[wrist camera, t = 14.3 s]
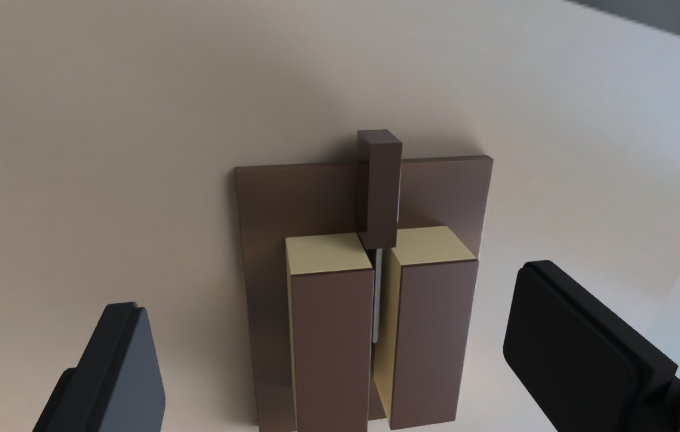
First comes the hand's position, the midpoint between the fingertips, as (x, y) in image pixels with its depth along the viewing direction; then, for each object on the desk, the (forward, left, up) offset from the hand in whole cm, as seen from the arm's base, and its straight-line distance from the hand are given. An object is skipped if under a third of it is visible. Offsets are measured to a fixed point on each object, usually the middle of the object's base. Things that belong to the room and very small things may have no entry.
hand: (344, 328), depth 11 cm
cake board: (+14, +5, -20) cm, 25 cm away
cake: (+14, +5, -20) cm, 25 cm away
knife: (+7, +6, -19) cm, 21 cm away
